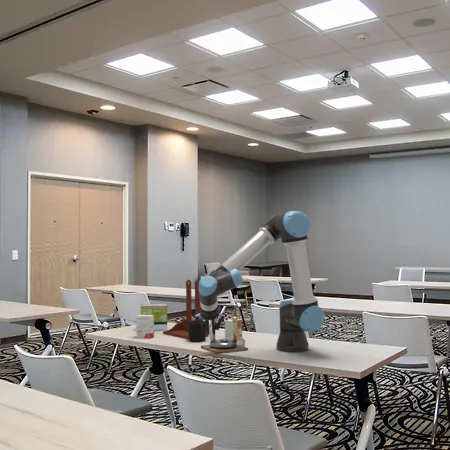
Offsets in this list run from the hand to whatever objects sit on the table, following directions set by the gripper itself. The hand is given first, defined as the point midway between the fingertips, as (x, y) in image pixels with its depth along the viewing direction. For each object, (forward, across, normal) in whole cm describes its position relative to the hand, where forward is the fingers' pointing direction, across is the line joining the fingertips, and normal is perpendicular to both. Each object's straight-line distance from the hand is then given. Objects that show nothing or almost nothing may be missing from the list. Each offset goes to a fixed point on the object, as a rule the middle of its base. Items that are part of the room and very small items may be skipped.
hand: (211, 337), depth 248 cm
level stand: (+10, +6, +1) cm, 12 cm away
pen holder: (+26, -9, +16) cm, 32 cm away
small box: (+27, +10, +17) cm, 33 cm away
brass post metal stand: (+10, +5, +2) cm, 11 cm away
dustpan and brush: (+38, -17, +27) cm, 49 cm away
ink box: (+33, -38, +23) cm, 55 cm away
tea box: (+51, -37, +41) cm, 75 cm away
